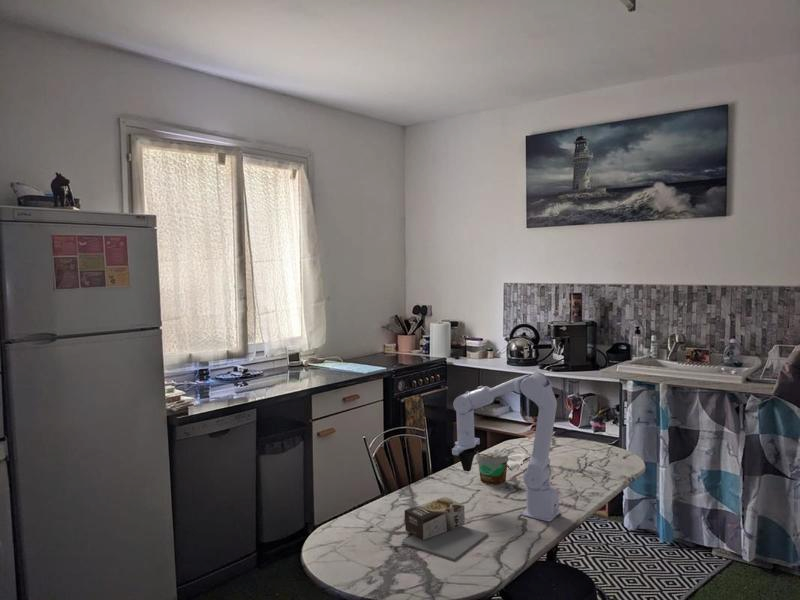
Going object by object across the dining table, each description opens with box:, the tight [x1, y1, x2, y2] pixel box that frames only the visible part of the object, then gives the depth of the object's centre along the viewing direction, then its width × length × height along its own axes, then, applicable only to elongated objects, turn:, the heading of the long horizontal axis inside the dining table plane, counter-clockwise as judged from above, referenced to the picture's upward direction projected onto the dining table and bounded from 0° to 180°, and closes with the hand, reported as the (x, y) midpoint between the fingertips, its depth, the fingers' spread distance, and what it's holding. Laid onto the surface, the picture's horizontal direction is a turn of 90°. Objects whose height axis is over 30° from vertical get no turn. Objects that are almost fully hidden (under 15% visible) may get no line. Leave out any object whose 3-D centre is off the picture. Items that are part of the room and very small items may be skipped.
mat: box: [400, 525, 489, 562], centre depth 171 cm, size 18×18×1 cm
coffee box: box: [404, 496, 466, 540], centre depth 177 cm, size 9×6×16 cm
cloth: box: [507, 452, 531, 471], centre depth 236 cm, size 26×14×2 cm, turn 134°
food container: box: [475, 451, 509, 486], centre depth 214 cm, size 12×6×10 cm, turn 62°
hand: (467, 470), depth 197 cm, fingers closed
